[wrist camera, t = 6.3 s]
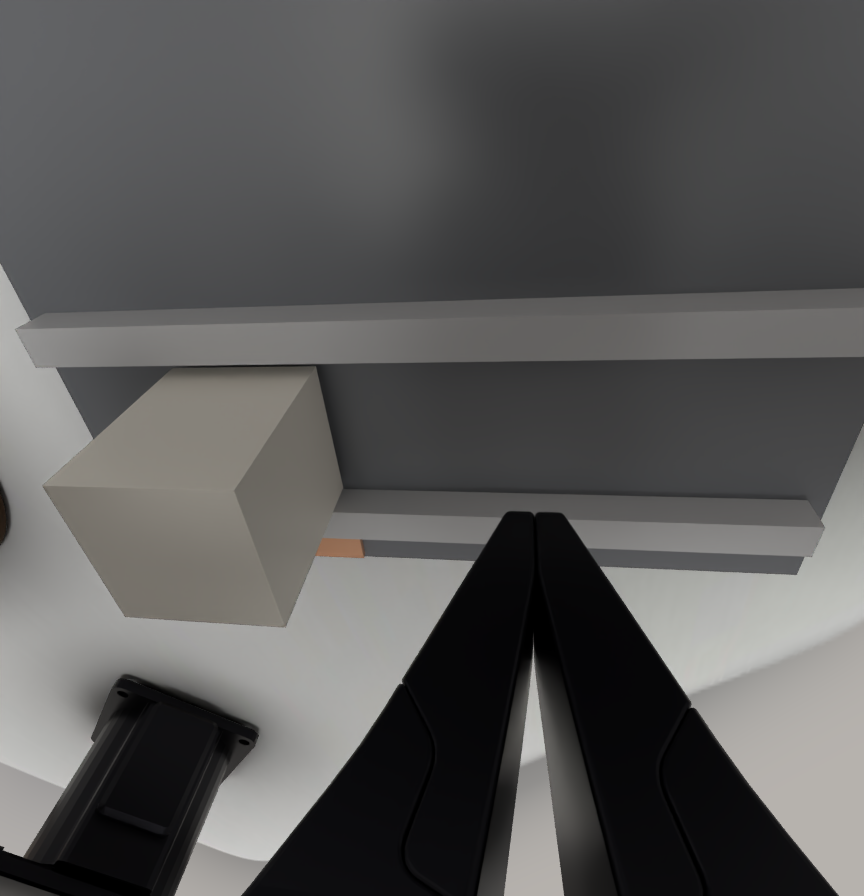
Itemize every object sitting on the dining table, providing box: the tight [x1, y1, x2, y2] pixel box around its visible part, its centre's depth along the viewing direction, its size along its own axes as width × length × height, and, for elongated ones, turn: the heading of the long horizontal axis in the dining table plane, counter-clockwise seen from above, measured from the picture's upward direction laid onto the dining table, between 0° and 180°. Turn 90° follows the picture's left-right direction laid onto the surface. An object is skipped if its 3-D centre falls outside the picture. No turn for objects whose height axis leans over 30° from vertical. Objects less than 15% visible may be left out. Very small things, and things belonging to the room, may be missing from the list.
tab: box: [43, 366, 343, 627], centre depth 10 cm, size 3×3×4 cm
